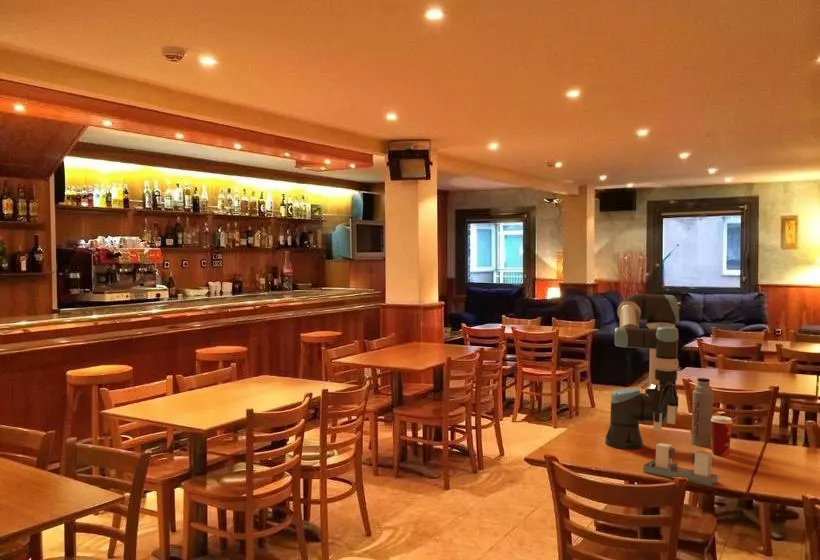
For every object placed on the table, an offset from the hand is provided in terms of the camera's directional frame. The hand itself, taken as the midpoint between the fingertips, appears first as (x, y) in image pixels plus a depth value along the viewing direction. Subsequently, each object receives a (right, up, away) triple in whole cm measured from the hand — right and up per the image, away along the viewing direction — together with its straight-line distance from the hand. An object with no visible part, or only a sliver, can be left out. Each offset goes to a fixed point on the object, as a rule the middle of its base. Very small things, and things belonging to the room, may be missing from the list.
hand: (664, 426), depth 255 cm
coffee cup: (+32, -17, +26) cm, 45 cm away
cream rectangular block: (0, -15, 0) cm, 15 cm away
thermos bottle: (+31, -16, +42) cm, 54 cm away
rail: (+4, -17, -4) cm, 18 cm away
